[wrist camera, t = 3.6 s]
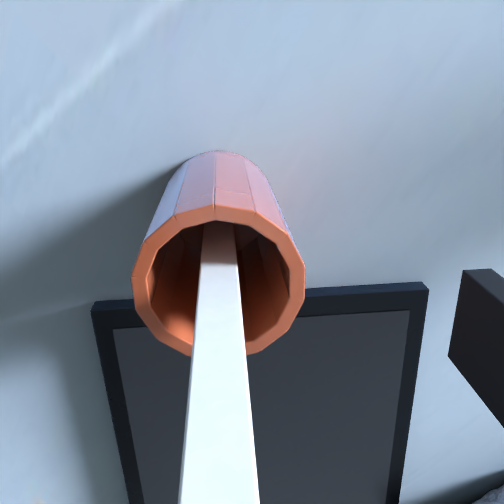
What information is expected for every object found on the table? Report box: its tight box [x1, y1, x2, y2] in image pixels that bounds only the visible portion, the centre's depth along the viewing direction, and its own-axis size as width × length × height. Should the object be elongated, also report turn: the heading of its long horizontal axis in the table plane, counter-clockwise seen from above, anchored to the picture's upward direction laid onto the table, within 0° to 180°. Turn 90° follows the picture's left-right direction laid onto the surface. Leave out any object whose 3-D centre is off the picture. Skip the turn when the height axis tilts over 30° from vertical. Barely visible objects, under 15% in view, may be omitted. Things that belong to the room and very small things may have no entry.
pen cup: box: [130, 151, 305, 357], centre depth 18 cm, size 5×6×9 cm
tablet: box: [90, 282, 429, 504], centre depth 28 cm, size 18×24×1 cm
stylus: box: [178, 220, 260, 504], centre depth 14 cm, size 1×1×16 cm
